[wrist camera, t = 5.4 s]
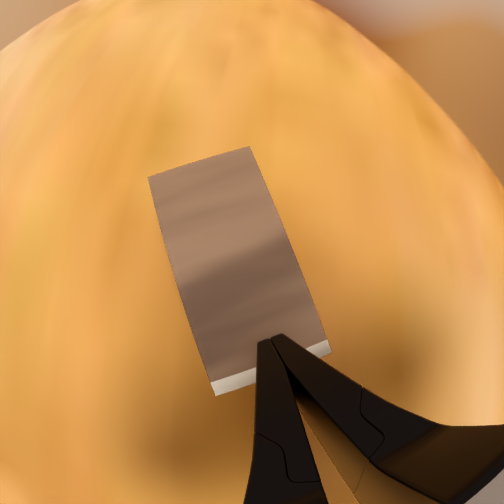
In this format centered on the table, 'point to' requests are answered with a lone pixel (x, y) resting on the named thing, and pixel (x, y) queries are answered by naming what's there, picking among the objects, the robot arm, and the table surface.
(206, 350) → the walnut block
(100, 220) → the table surface
